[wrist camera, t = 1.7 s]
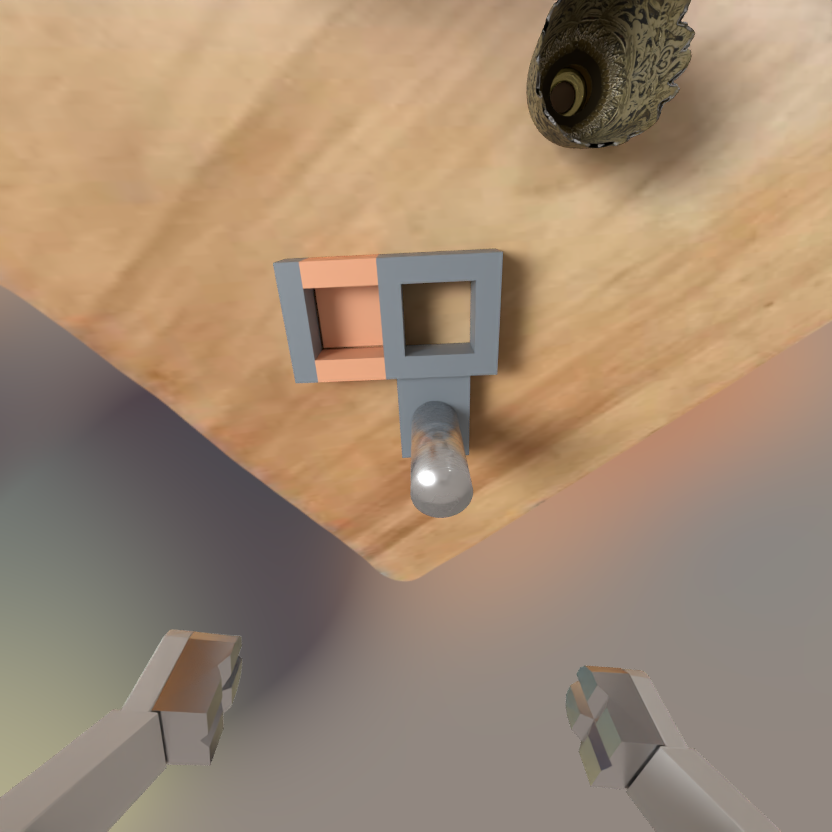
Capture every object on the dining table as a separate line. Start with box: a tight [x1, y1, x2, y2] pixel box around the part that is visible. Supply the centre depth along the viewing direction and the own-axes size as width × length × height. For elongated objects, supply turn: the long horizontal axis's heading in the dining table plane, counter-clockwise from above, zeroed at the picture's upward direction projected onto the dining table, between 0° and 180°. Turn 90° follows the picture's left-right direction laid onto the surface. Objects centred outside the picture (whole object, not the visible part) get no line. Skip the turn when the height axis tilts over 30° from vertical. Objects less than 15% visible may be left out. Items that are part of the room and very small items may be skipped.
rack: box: [273, 249, 503, 458], centre depth 33 cm, size 16×17×3 cm
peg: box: [411, 401, 473, 518], centre depth 30 cm, size 4×4×10 cm
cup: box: [527, 0, 695, 149], centre depth 23 cm, size 8×7×8 cm
